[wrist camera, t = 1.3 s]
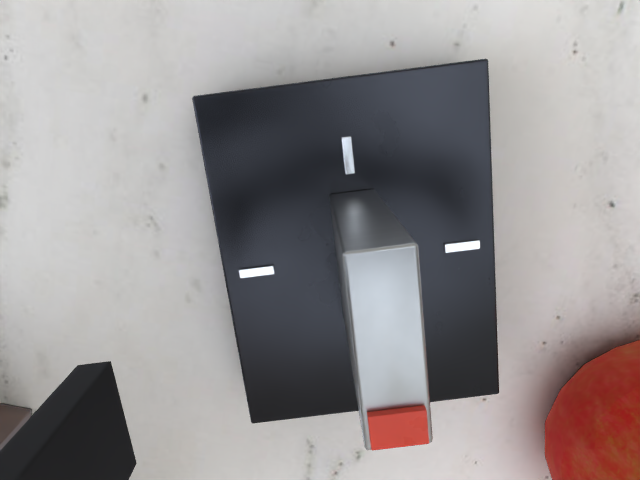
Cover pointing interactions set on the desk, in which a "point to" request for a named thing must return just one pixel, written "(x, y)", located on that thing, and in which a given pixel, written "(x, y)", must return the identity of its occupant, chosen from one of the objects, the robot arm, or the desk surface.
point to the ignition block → (11, 421)
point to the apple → (597, 420)
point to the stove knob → (382, 320)
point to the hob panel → (317, 229)
